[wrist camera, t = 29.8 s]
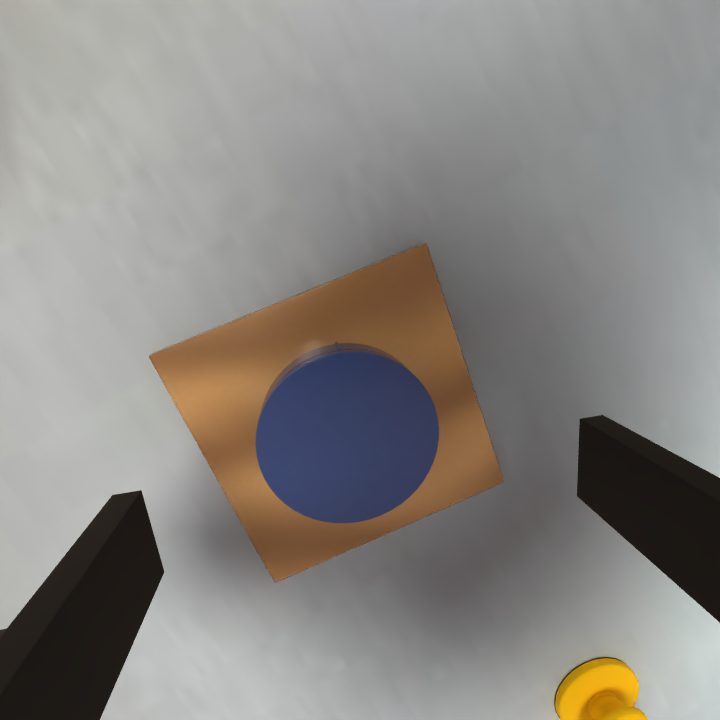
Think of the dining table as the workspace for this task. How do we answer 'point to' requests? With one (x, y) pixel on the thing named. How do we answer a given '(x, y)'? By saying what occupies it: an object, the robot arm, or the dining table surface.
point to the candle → (599, 692)
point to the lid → (346, 434)
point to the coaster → (299, 336)
